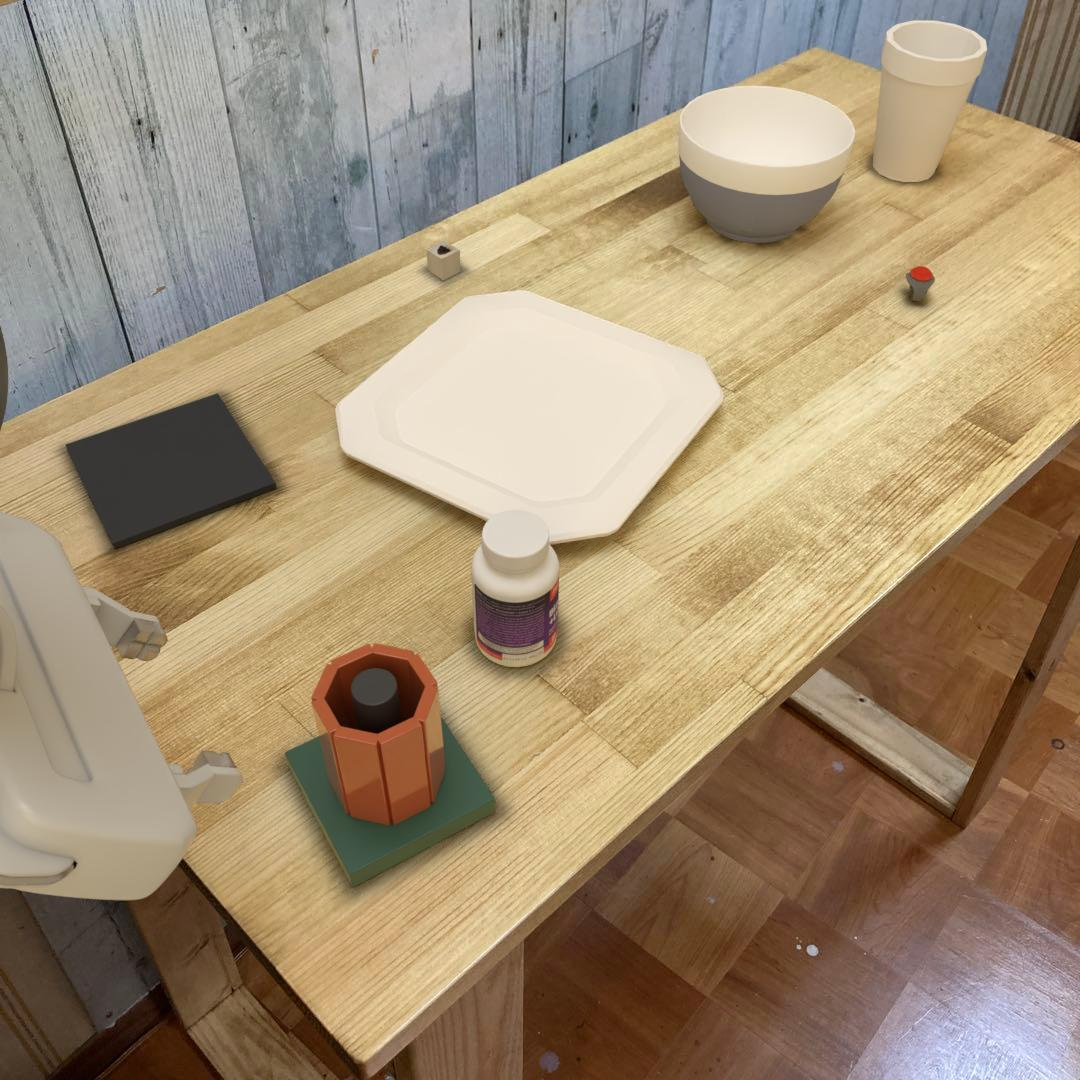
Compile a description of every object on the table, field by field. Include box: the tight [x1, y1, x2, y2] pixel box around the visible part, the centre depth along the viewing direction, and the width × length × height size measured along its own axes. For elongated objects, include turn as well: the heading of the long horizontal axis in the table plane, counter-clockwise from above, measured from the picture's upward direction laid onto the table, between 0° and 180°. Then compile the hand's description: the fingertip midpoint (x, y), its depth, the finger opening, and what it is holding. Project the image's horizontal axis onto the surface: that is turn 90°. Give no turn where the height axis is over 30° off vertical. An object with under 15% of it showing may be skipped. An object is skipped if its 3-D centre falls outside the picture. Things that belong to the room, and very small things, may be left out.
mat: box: [65, 393, 277, 550], centre depth 84 cm, size 12×12×1 cm
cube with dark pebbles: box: [426, 240, 462, 281], centre depth 102 cm, size 2×2×2 cm
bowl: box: [677, 85, 856, 244], centre depth 106 cm, size 16×16×10 cm
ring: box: [905, 265, 936, 302], centre depth 100 cm, size 2×3×3 cm
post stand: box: [284, 668, 496, 888], centre depth 62 cm, size 9×9×10 cm
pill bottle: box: [470, 510, 561, 668], centre depth 70 cm, size 5×5×10 cm
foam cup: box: [872, 20, 988, 183], centre depth 112 cm, size 10×9×13 cm
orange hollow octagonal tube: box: [310, 642, 446, 826], centre depth 62 cm, size 6×6×8 cm
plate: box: [334, 289, 725, 546], centre depth 88 cm, size 25×25×2 cm
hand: (192, 705), depth 53 cm, fingers open, 8 cm apart
